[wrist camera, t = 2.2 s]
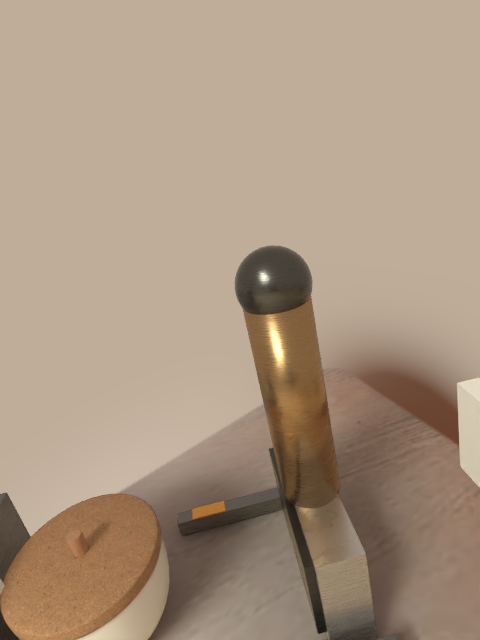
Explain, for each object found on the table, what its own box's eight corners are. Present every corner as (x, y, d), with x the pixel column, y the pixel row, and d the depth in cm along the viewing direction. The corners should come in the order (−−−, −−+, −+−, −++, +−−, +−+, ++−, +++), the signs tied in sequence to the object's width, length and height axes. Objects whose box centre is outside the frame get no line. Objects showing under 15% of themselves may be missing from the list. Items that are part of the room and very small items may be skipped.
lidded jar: (109, 547, 39) (74, 468, 35) (210, 576, 34) (180, 488, 30) (11, 677, 30) (-49, 588, 26) (128, 741, 25) (73, 643, 22)
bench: (-74, 805, 24) (-171, 706, 21) (22, 567, 39) (-25, 483, 35) (406, 670, 25) (394, 554, 22) (326, 487, 40) (311, 399, 36)
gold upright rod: (322, 657, 27) (241, 286, 17) (281, 511, 38) (219, 238, 29) (388, 638, 27) (342, 261, 18) (328, 499, 38) (281, 223, 29)
